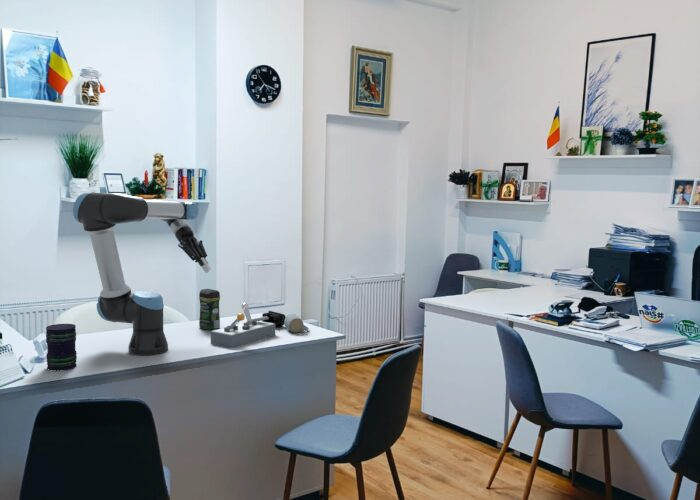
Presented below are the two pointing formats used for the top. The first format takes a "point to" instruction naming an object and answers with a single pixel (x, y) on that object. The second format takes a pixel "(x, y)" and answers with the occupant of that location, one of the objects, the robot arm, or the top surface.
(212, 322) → the coffee jar
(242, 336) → the console
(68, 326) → the storage jar
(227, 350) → the top surface
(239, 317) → the lever orange
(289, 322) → the ceramic mug
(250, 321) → the silver ball lever
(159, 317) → the robot arm
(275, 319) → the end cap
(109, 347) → the top surface
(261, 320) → the rocker grey
